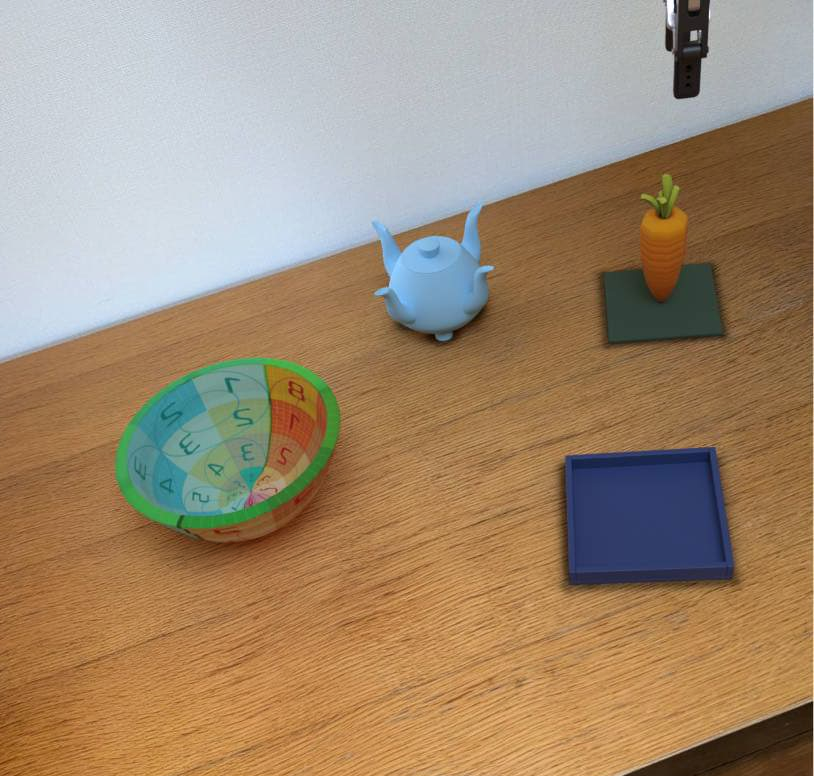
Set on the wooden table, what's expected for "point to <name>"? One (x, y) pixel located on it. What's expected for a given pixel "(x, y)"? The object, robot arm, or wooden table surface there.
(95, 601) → the wooden table surface
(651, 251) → the carrot
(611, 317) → the mat
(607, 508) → the tray
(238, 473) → the bowl
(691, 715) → the wooden table surface
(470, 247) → the teapot
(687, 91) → the robot arm
